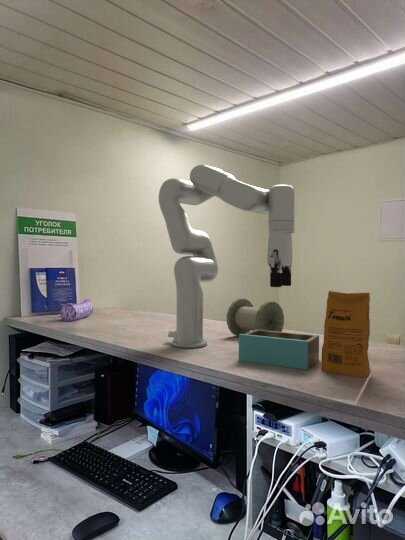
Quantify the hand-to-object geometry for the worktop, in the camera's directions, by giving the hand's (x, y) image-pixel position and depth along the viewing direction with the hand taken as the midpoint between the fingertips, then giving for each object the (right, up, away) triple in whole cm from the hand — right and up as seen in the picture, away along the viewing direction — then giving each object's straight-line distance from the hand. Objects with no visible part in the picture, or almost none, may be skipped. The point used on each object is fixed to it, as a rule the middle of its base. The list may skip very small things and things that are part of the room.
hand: (280, 286), depth 119 cm
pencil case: (-88, -21, +89) cm, 127 cm away
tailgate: (-4, -22, -6) cm, 23 cm away
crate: (0, -23, 0) cm, 23 cm away
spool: (-3, -22, +39) cm, 45 cm away
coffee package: (+15, -23, -12) cm, 30 cm away
